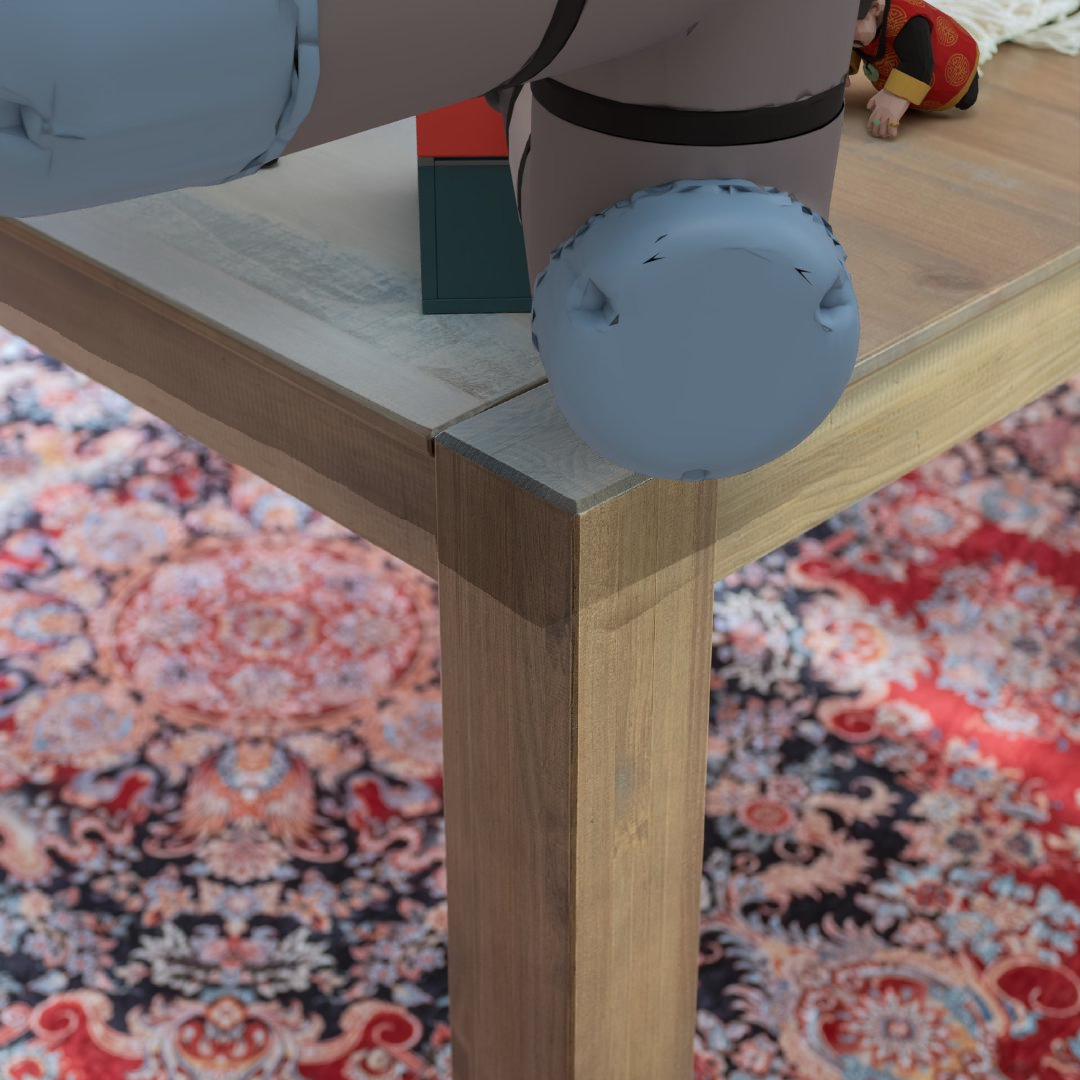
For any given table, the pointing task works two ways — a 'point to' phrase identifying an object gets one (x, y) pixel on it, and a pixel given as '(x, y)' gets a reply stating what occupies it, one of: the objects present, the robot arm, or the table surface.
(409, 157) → the table surface
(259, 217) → the table surface
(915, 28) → the figurine
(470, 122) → the lid
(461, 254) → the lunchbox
